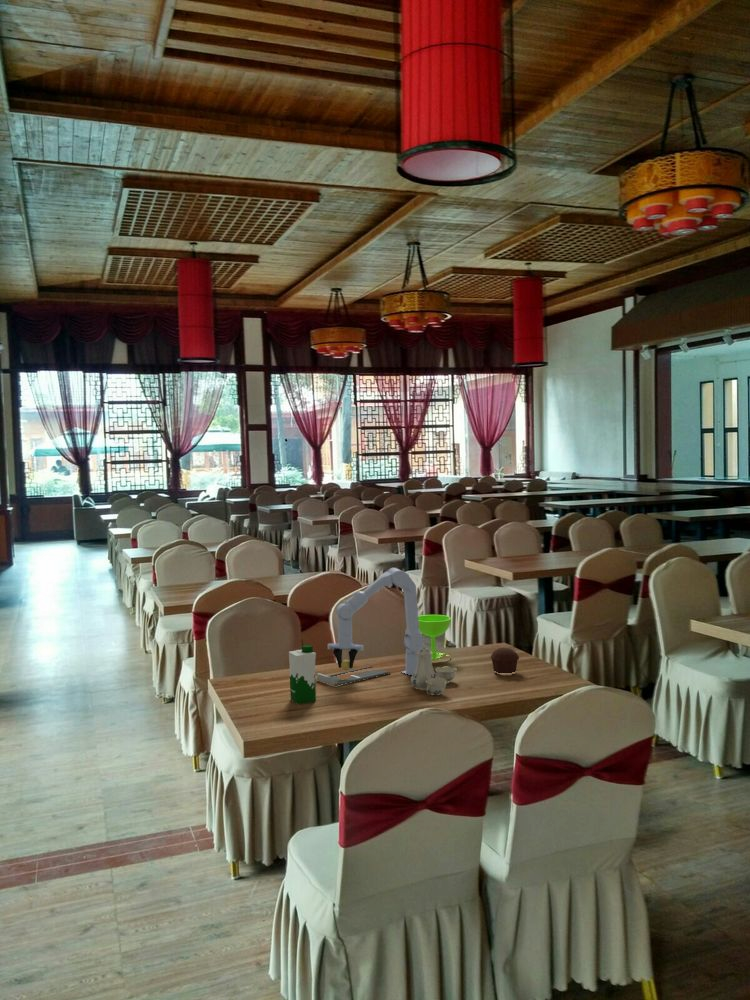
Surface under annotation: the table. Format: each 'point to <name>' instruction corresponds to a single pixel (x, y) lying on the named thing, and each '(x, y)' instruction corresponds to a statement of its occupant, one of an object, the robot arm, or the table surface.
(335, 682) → the lane mat
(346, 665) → the ball
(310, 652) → the milk carton
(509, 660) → the muffin
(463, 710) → the table surface
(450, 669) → the chinaware
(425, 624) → the wineglass
